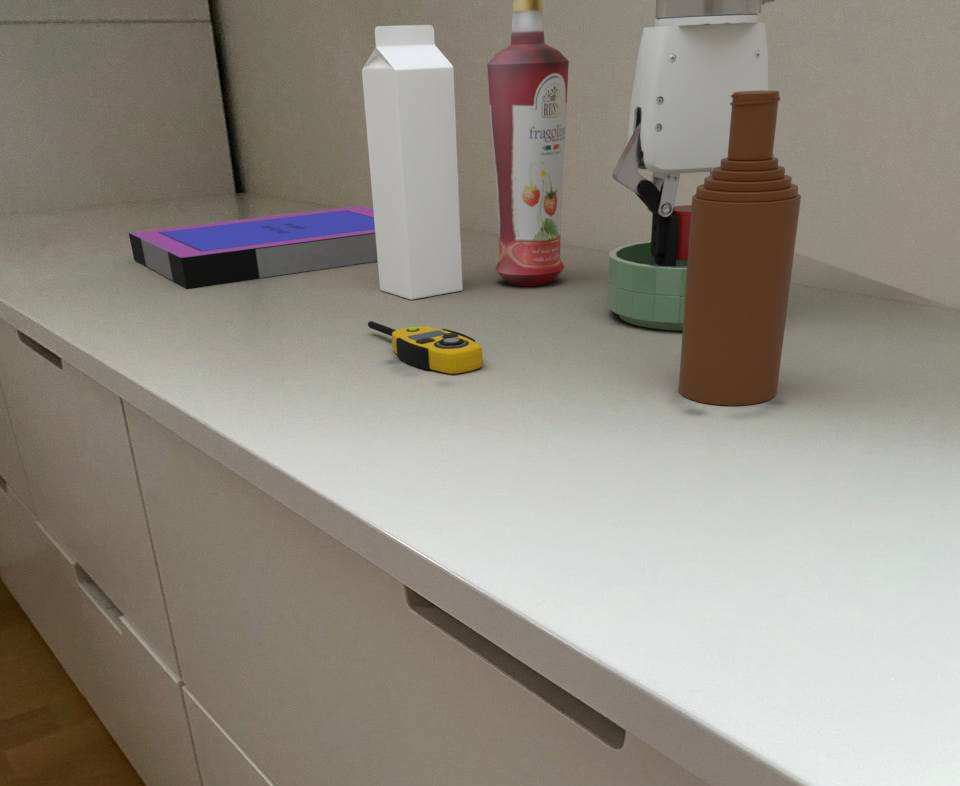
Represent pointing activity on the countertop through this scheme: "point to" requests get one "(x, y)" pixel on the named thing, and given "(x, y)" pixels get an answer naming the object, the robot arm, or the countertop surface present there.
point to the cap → (683, 230)
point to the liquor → (528, 148)
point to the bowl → (646, 288)
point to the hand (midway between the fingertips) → (688, 261)
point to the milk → (413, 162)
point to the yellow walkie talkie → (434, 348)
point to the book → (258, 246)
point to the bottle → (740, 264)
